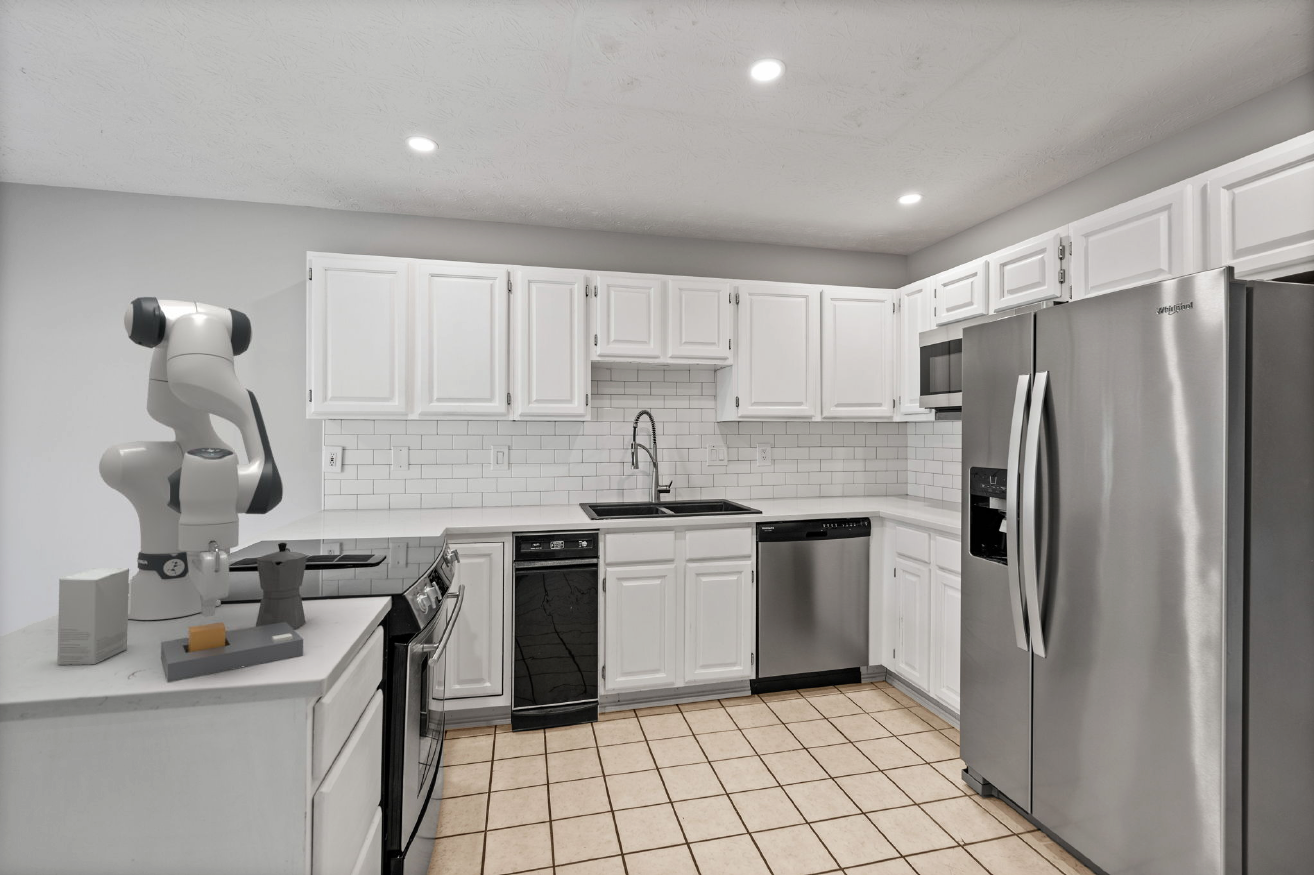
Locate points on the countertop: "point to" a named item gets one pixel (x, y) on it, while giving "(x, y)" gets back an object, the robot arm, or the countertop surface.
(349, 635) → the countertop surface
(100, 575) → the skincare box
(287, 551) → the coffeepot
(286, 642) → the socket plate
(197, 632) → the plug
